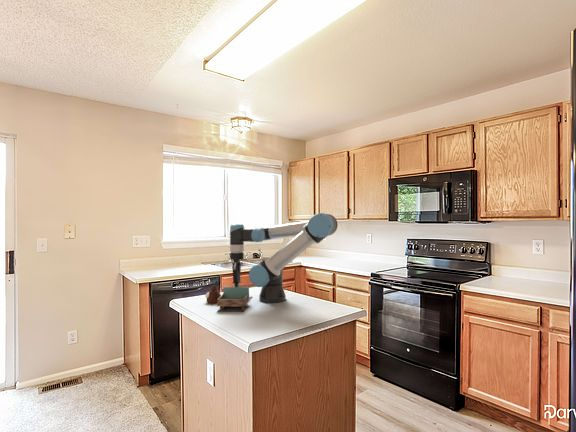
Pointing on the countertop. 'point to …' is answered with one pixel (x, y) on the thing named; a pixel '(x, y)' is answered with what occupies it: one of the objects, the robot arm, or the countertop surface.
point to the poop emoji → (213, 295)
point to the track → (233, 311)
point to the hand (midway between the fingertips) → (236, 294)
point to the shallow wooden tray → (234, 297)
